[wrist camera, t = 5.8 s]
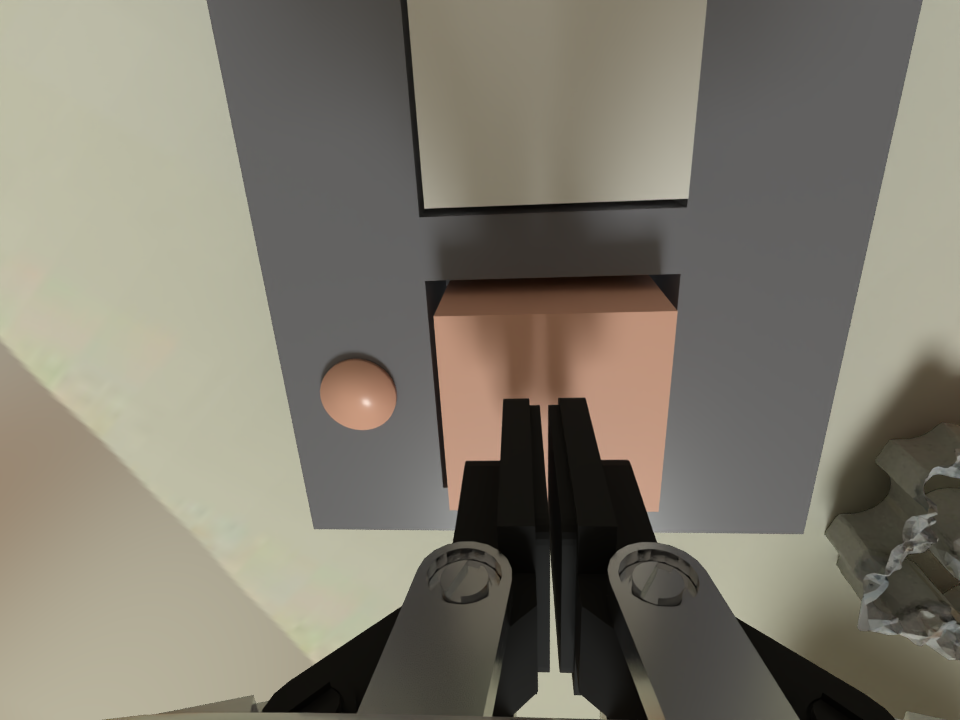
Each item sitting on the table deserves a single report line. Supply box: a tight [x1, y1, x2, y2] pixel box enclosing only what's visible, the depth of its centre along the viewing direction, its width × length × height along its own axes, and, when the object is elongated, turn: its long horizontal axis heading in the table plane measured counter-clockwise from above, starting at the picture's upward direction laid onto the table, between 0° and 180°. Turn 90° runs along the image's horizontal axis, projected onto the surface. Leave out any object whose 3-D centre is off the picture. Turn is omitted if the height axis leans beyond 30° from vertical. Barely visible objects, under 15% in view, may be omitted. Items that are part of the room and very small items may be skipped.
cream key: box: [407, 0, 707, 209], centre depth 12 cm, size 5×5×3 cm
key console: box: [207, 0, 923, 534], centre depth 14 cm, size 14×24×5 cm, turn 3°
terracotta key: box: [433, 275, 678, 512], centre depth 14 cm, size 5×5×3 cm
